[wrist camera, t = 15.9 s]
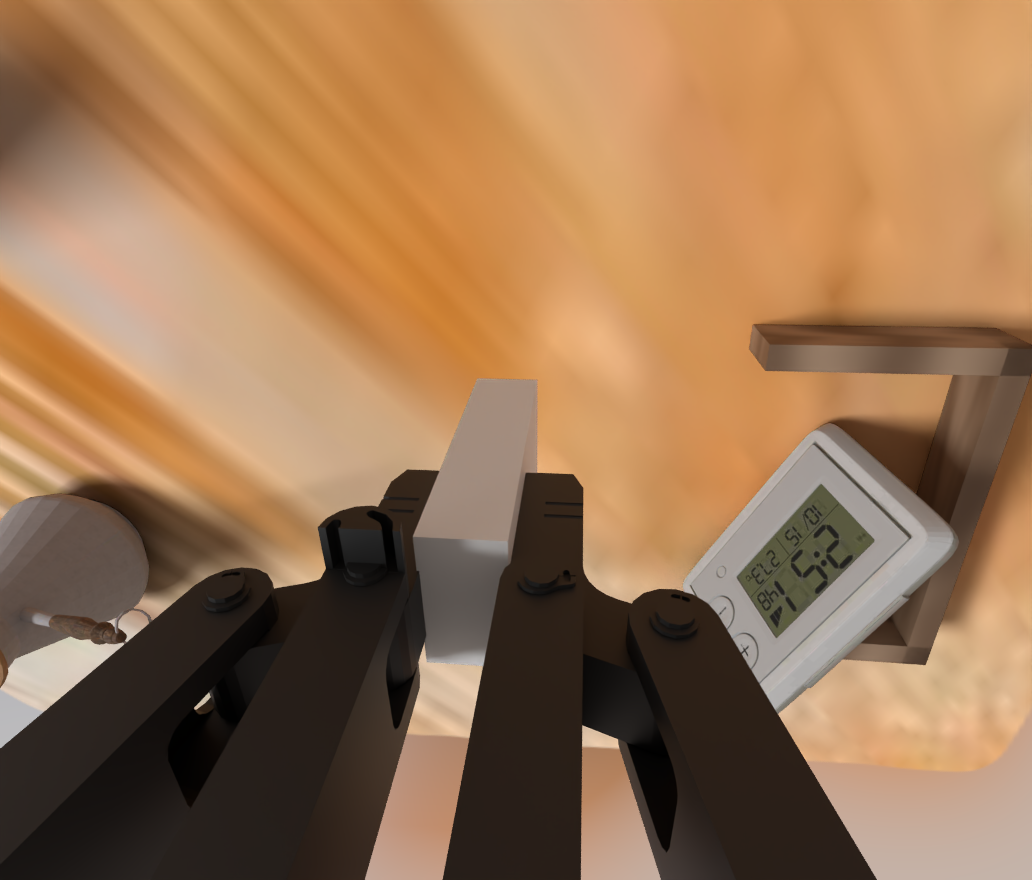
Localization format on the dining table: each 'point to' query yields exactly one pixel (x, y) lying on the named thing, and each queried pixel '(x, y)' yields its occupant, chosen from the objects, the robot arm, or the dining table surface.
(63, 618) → the coffee pot
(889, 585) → the digital clock
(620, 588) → the dining table surface
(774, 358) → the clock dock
